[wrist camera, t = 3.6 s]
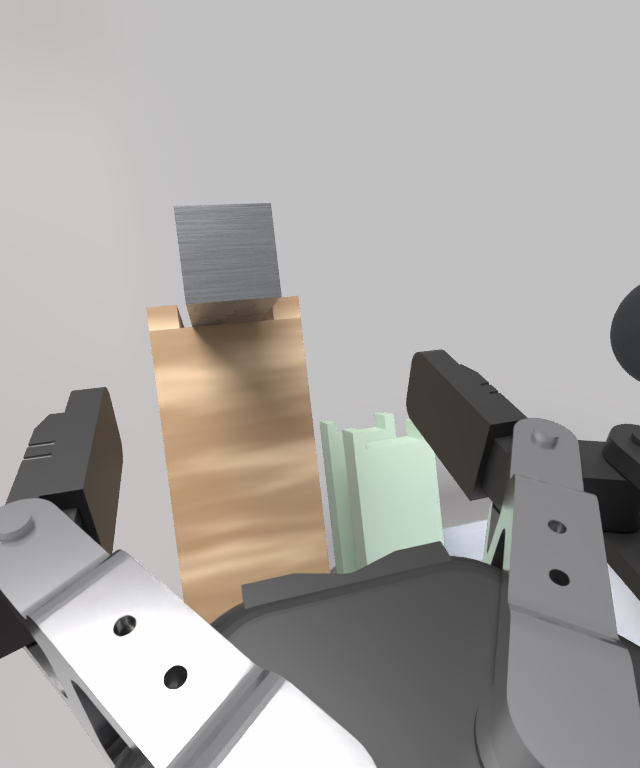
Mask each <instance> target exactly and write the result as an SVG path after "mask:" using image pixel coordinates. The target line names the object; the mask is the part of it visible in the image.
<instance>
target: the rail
mask: <svg viewBox="0 0 640 768" xmlns="http://www.w3.org/2000/svg"><path fill="white" fill-rule="evenodd" d="M174 211H175V220H176V227H177V236H178V244H179V252H180V260H181V268H182V276H183V284H184V292H185V300H186V306H187V309H188V313H189V316H190V320H191V323H192V327H200V326H211V325H223V324H234V323H245V322H257V321H260V319H261V318H262V317H263V316H264V315H265V314H266V313H267V312H268V311H269V310H270V309H271V308H272V306H273V305H274V304H275V303H276V302H277V301H278V300H279V299H280V298H281V288H280V279H279V270H278V262H277V253H276V245H275V236H274V228H273V219H272V210H271V203H261V204H230V205H200V206H199V205H198V206H174Z"/></svg>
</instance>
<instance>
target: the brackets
mask: <svg viewBox="0 0 640 768" xmlns="http://www.w3.org/2000/svg"><path fill="white" fill-rule="evenodd" d="M374 420H375V427H374V428H367V429H361V430H358V429H355V428H348V429H342V432H341V433H338V429H337V423H336V422H334V421H331V420H324V421H320V431H321V439H322V448H323V457H324V466H325V475H326V483H327V492H328V501H329V509H330V518H331V526H332V536H333V543H334V553H335V562H336V571H337V574H347V573H352V572H355V571H357V570H359V569H361V568H363V567H365V566H367V565H369V564H371V563H372V562H374V561H376V560H378V559H380V558H382V557H384V556H386V555H388V554H390V553H392V552H394V551H397V550H401V549H406V548H410V547H415V546H419V545H424V544H428V543H433V542H437V541H441V543H442V544H443V546H444V540H443V530H442V520H441V511H440V501H439V492H438V482H437V473H436V463H435V453H434V451H433V450H432V448H431V447H430V446H429V444H428V443H427V442H426V440H425V439H424V438H423V436H422V435H421V434H420V432H419V431H418V429H417V428H416V427H415V425H414V424H413V423H412V421H411V420H410V419H407V420H405V422H406V431H407V436H406V437H400V438H396V432H395V424H394V423H395V422H394V415H393V414H390V413H384V412H380V413H374Z"/></svg>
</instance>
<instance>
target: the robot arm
mask: <svg viewBox="0 0 640 768" xmlns="http://www.w3.org/2000/svg"><path fill="white" fill-rule="evenodd" d="M610 339H611V346H612V350H613V352H614V354H615V357H616V359H617V361H618V362H619V363H620V365H621V366H622V368H623V369H624V370H625V371H626V372H627V373H629V375H631V376H632V377H633V378H635V379H636V380H638V381H640V285H639V286H637V287H636V288H635V289H633V290H632V291H631V292H630V293H629V294H628V295H627V296H626V297H625V298H624V300H623V301H622V302H621V304H620V305H619V307H618V309H617V311H616V313H615V315H614V318H613V321H612V326H611V332H610ZM406 406H407V412H408V415H409V418H410V420H411V421H412V423H413V424H414V425H415V427H416V428H417V429H418V431H419V432H420V434H421V435H422V436H423V438H424V439H425V440H426V442H427V443H428V444H429V446H430V447H431V448H432V450H433V451H434V452H435V454H436V455H437V456H438V458H439V459H440V460H441V462H442V463H443V465H444V466H445V467H446V469H447V470H448V471H449V473H450V474H451V475H452V477H453V478H454V480H455V481H456V482H457V484H458V485H459V486H460V488H461V489H462V490H463V492H464V493H465V494H466V496H467V497H468V499H469V500H470V501H471V500H477V499H481V498H486V497H489V498H490V499H491V501H492V503H491V506H490V509H489V514H488V522H487V530H486V538H485V547H484V555H483V562H481V561H478V560H474V559H469V558H464V557H456V556H449V554H448V552H447V551H446V549H445V548H444V546H443V544H442V543H441V541H437V542H433V543H428V544H424V545H419V546H415V547H410V548H406V549H401V550H397V551H394V552H392V553H390V554H388V555H386V556H384V557H382V558H380V559H378V560H376V561H374V562H372V563H371V564H369V565H367V566H365V567H363V568H361V569H359V570H357V571H355V572H352V573H347V574H329V573H293V574H288V575H284V576H279V577H275V578H270V579H266V580H261V581H257V582H252V583H248V584H243V585H241V588H242V598H243V602H242V603H240V604H238V605H236V606H234V607H233V608H231V609H230V610H228V611H226V612H225V613H223V614H222V615H220V616H219V617H218V618H217V619H216V620H214V621H213V622H212V623H211V624H208V623H207V622H206V621H205V620H204V619H203V618H201V617H200V616H199V615H198V614H197V613H196V612H195V611H193V610H192V609H191V608H190V607H189V606H188V605H187V604H185V603H184V602H183V601H182V600H181V599H180V598H179V597H177V596H176V595H175V594H174V593H173V592H172V591H171V590H169V589H168V588H167V587H166V586H165V585H164V584H163V583H161V582H160V581H159V580H158V579H157V578H156V577H155V576H153V575H152V574H151V573H150V572H149V571H148V570H146V569H145V568H144V567H143V566H142V565H141V564H140V563H138V562H137V561H136V560H135V559H134V558H133V557H132V556H131V555H129V554H128V553H126V552H125V551H123V550H117V551H115V552H114V553H113V554H112V550H113V542H114V534H115V524H116V516H117V508H118V499H119V490H120V481H121V473H122V464H123V453H122V444H121V439H120V434H119V430H118V427H117V422H116V419H115V415H114V410H113V407H112V402H111V398H110V395H109V392H108V390H107V388H106V387H101V388H93V389H83V390H75V391H72V392H71V394H70V397H69V400H68V403H67V406H66V410H65V413H57V414H50V415H48V416H47V417H46V418H45V420H44V421H42V422H41V423H40V424H39V425H38V426H37V427H36V428H35V429H34V431H33V434H32V437H31V439H30V442H29V447H28V448H27V450H26V452H25V455H24V460H23V461H22V462H21V465H20V468H19V470H18V473H17V475H16V478H15V481H14V483H13V486H12V488H11V491H10V494H9V496H8V499H7V502H6V504H5V505H4V506H2V507H0V658H3V657H5V656H7V655H8V654H10V653H12V652H14V651H16V650H18V649H20V648H22V647H23V648H24V650H25V651H26V652H27V654H28V655H29V656H30V657H31V659H32V660H33V661H34V662H35V664H36V665H37V666H38V668H39V669H40V670H41V672H42V673H43V674H44V675H45V677H46V678H47V679H48V681H49V682H50V683H51V685H52V686H53V687H54V688H55V690H56V691H57V692H58V694H59V695H60V696H61V697H62V699H63V700H64V701H65V703H66V704H67V705H68V707H69V708H70V709H71V711H72V712H73V713H74V715H75V716H76V718H77V719H78V720H79V722H80V724H81V725H82V727H83V728H84V730H85V731H86V733H87V735H88V736H89V737H90V739H91V741H92V742H93V743H94V745H95V746H96V748H97V749H98V750H99V752H100V753H101V754H102V756H103V757H104V758H105V760H106V761H107V762H108V764H109V765H110V766H111V768H640V646H638V645H636V644H634V643H633V642H631V641H629V640H627V639H625V638H624V637H622V636H620V635H618V633H617V628H616V621H615V614H614V607H613V600H612V593H611V586H610V579H609V573H608V566H607V563H608V564H609V565H610V567H611V568H612V569H613V570H614V571H615V572H616V574H617V575H618V576H619V577H620V578H621V579H622V581H623V582H624V583H625V584H626V585H627V586H628V588H629V589H630V590H631V591H632V592H633V593H634V595H635V596H636V597H637V598H638V599H639V600H640V426H639V425H633V424H621V425H617V426H614V427H613V428H612V429H611V431H610V433H609V435H608V438H607V440H606V442H598V441H582V440H577V438H576V436H575V435H574V434H573V433H572V432H571V431H570V430H568V429H566V428H565V427H564V426H561V425H559V424H558V423H555V422H552V421H549V420H545V419H540V418H527V417H526V416H525V415H524V414H523V413H522V412H520V411H519V410H518V409H517V408H516V407H515V406H514V405H513V404H512V403H510V402H509V401H508V400H507V399H506V398H505V397H504V396H503V395H502V394H501V393H498V391H497V390H496V389H495V388H494V387H493V386H492V385H489V382H488V381H486V380H485V379H484V378H483V377H482V376H481V375H480V374H479V373H478V372H476V371H474V370H472V369H470V368H467V367H466V366H464V365H461V364H460V365H459V364H458V363H457V362H456V361H455V360H454V359H453V358H452V357H451V356H450V355H448V354H447V353H446V352H445V351H444V350H433V351H424V352H417V353H415V355H414V356H413V359H412V364H411V371H410V378H409V385H408V392H407V399H406Z"/></svg>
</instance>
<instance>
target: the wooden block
mask: <svg viewBox="0 0 640 768" xmlns="http://www.w3.org/2000/svg"><path fill="white" fill-rule="evenodd" d="M147 316H148V324H149V332H150V339H151V347H152V355H153V363H154V371H155V379H156V386H157V394H158V402H159V409H160V417H161V426H162V433H163V441H164V449H165V457H166V464H167V471H168V480H169V488H170V496H171V504H172V512H173V520H174V527H175V534H176V542H177V550H178V559H179V566H180V574H181V582H182V590H183V598H184V603H185V604H187V605H188V606H189V607H190V608H191V609H192V610H193V611H195V612H196V613H197V614H198V615H199V616H200V617H201V618H203V619H204V620H205V621H206V622H207V623H208V624H211V623H212V622H213V621H214V620H216V619H217V618H218V617H219V616H220V615H222V614H223V613H225V612H226V611H228V610H230V609H231V608H233V607H234V606H236V605H238V604H240V603H242V602H243V598H242V588H241V585H243V584H248V583H252V582H257V581H261V580H266V579H270V578H275V577H279V576H284V575H288V574H293V573H329V574H330V569H329V561H328V552H327V543H326V534H325V526H324V516H323V508H322V499H321V491H320V482H319V473H318V465H317V455H316V447H315V438H314V429H313V420H312V413H311V403H310V394H309V386H308V377H307V368H306V359H305V351H304V342H303V333H302V324H301V316H300V307H299V298H298V296H292V297H281V298H280V299H279V300H278V301H277V302H276V303H275V304H274V305H273V306H272V308H271V309H270V310H269V311H268V312H267V313H266V314H265V315H264V316H263V317H262V318H261V319H260V321H257V322H245V323H234V324H223V325H211V326H200V327H188V328H184V325H183V323H182V319H181V317H180V314H179V311H178V308H177V306H176V305H174V306H161V307H148V308H147Z"/></svg>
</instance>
